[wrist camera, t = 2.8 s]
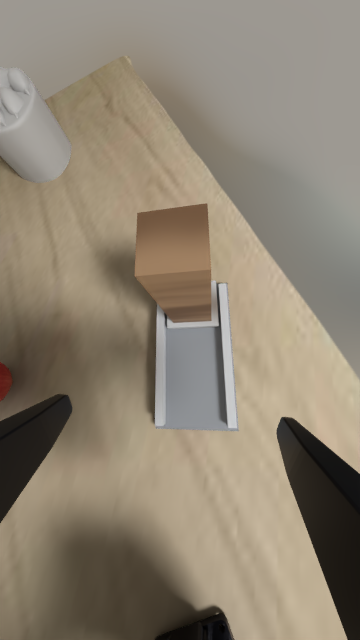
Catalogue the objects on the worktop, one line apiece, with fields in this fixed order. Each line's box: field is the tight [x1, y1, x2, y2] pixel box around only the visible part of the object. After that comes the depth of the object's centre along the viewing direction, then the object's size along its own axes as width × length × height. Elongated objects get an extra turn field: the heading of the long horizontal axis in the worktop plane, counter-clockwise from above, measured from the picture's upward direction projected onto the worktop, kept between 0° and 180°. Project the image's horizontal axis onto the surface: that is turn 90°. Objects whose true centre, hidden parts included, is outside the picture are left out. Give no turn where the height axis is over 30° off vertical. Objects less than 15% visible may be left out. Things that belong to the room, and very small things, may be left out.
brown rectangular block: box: [135, 204, 219, 329], centre depth 16 cm, size 5×5×12 cm
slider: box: [155, 283, 239, 431], centre depth 21 cm, size 15×8×2 cm, turn 1°
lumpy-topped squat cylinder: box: [0, 67, 71, 183], centre depth 29 cm, size 10×13×9 cm
